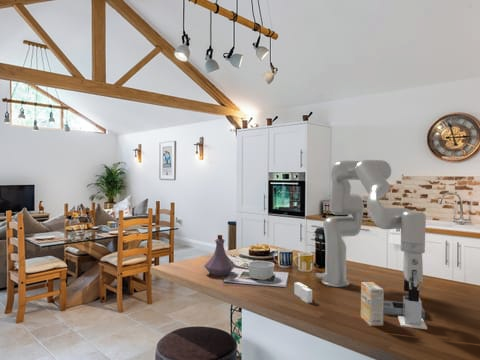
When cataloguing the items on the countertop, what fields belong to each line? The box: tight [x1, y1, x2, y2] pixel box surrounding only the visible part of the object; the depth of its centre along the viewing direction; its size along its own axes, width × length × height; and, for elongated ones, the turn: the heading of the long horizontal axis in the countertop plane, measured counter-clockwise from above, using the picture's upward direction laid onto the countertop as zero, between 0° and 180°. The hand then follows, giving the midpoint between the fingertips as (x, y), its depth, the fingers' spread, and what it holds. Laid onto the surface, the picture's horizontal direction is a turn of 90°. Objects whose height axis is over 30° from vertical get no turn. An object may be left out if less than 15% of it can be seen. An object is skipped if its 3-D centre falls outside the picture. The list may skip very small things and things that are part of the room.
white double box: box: [293, 281, 313, 304], centre depth 151 cm, size 15×11×6 cm
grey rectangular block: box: [402, 295, 423, 325], centre depth 125 cm, size 5×5×8 cm
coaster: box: [397, 316, 428, 330], centre depth 125 cm, size 8×8×1 cm
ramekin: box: [247, 260, 275, 279], centre depth 181 cm, size 13×13×7 cm
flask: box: [203, 234, 236, 277], centre depth 187 cm, size 16×16×20 cm
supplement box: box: [360, 281, 385, 327], centre depth 126 cm, size 8×5×13 cm, turn 5°
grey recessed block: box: [383, 300, 426, 320], centre depth 134 cm, size 14×8×3 cm, turn 73°
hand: (411, 296), depth 125 cm, fingers open, 9 cm apart
